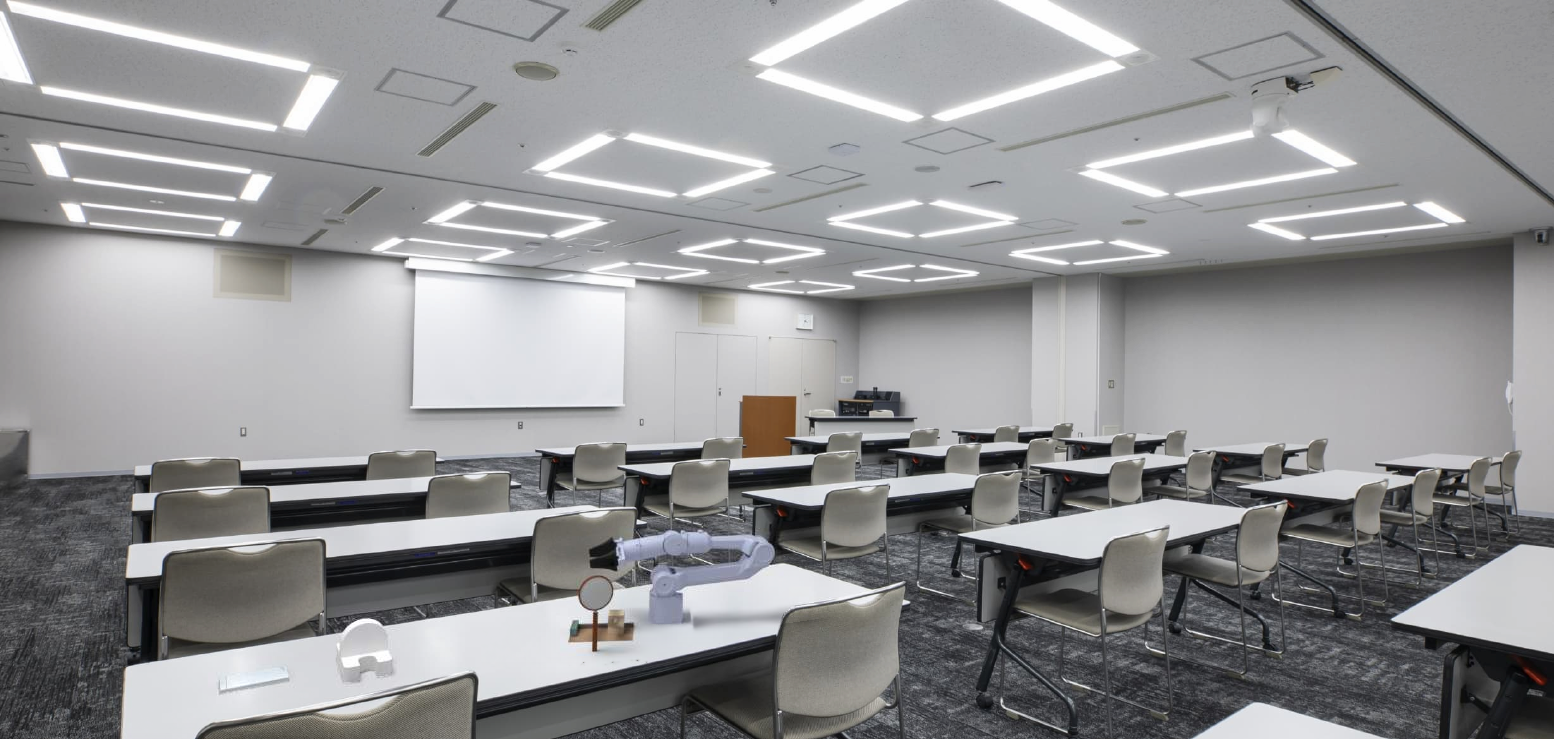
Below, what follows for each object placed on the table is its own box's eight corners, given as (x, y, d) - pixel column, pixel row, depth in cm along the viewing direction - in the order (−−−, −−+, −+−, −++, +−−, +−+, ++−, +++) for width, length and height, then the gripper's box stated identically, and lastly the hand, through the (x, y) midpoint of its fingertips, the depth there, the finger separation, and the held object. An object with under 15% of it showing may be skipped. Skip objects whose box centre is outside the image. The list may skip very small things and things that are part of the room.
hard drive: (286, 664, 176) (219, 676, 168) (289, 676, 169) (219, 689, 162) (285, 671, 176) (218, 683, 168) (289, 684, 169) (219, 696, 162)
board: (633, 631, 206) (634, 618, 206) (632, 646, 196) (632, 632, 196) (572, 633, 204) (573, 619, 204) (567, 648, 193) (568, 634, 193)
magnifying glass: (577, 660, 185) (579, 577, 185) (575, 658, 187) (577, 576, 187) (612, 655, 189) (614, 574, 189) (610, 653, 191) (612, 572, 191)
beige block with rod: (624, 625, 207) (625, 606, 207) (622, 637, 197) (623, 618, 197) (609, 625, 206) (609, 607, 206) (607, 638, 197) (607, 618, 197)
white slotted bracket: (344, 685, 169) (345, 636, 169) (335, 658, 183) (336, 613, 183) (392, 675, 174) (393, 628, 174) (380, 650, 189) (381, 607, 189)
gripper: (636, 526, 217) (587, 535, 213) (640, 545, 203) (588, 554, 200) (639, 549, 218) (590, 558, 215) (643, 569, 204) (591, 580, 201)
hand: (589, 558), depth 207 cm, fingers open, 7 cm apart
